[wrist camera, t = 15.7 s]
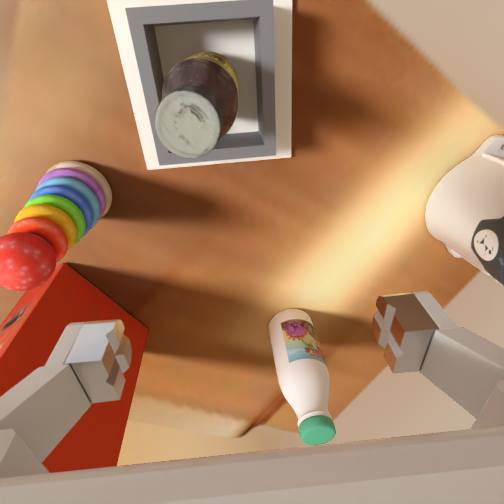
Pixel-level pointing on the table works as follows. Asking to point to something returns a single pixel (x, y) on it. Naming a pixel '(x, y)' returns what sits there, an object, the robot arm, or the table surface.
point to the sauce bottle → (197, 104)
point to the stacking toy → (52, 223)
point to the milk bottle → (302, 373)
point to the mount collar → (219, 41)
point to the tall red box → (42, 345)
